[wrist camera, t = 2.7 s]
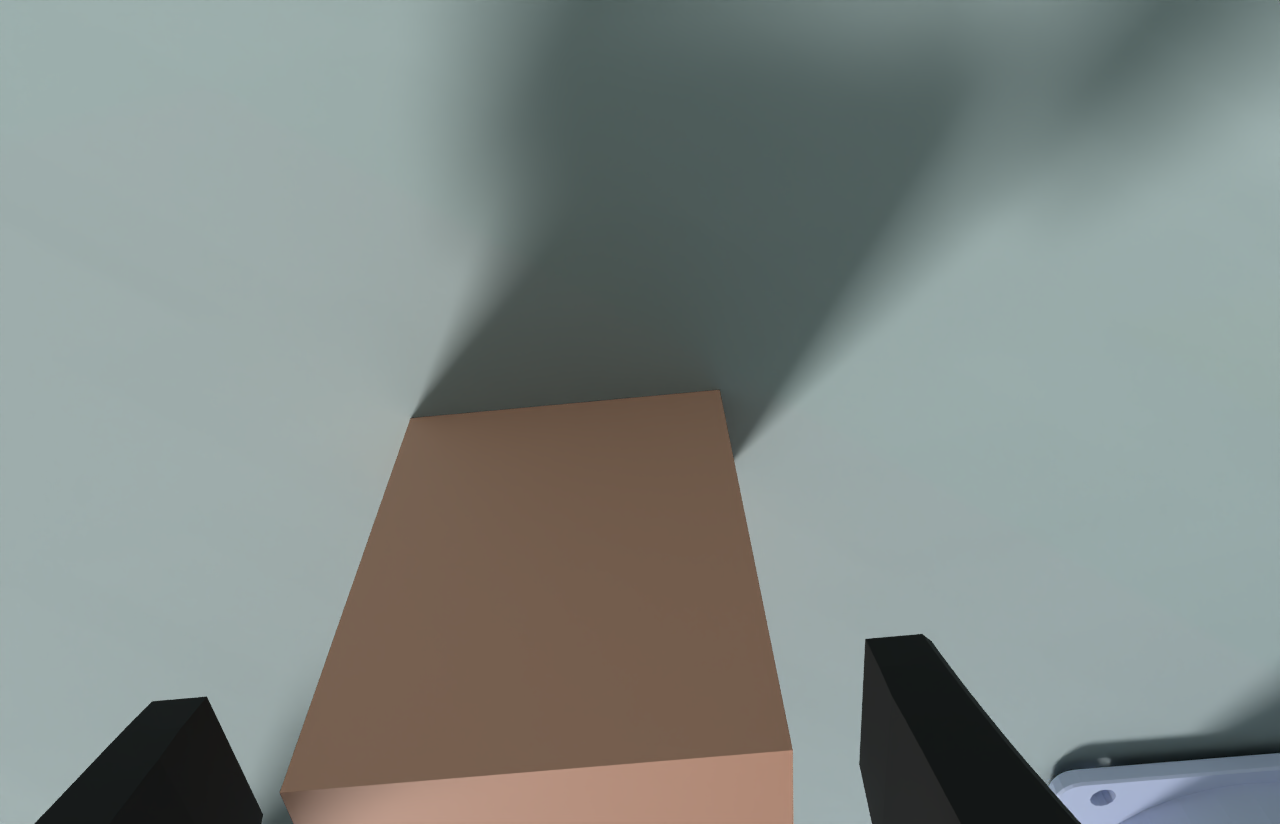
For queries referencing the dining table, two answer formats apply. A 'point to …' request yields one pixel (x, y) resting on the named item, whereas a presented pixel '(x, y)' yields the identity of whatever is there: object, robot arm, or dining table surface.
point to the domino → (553, 632)
